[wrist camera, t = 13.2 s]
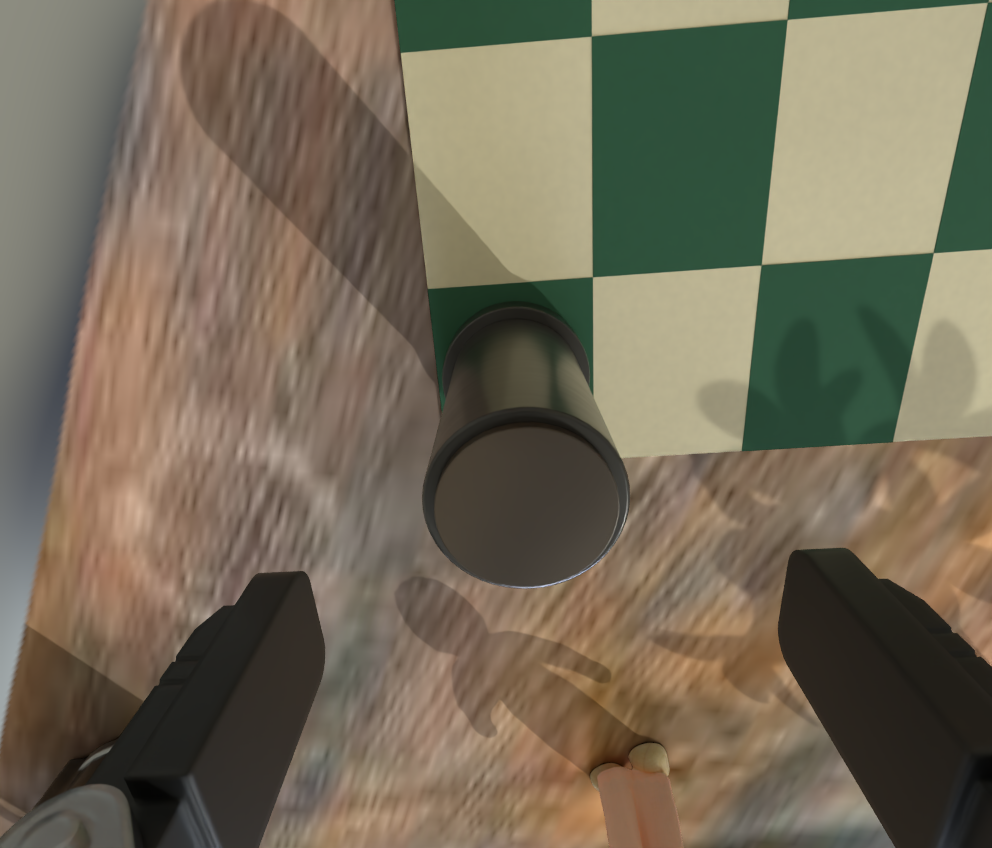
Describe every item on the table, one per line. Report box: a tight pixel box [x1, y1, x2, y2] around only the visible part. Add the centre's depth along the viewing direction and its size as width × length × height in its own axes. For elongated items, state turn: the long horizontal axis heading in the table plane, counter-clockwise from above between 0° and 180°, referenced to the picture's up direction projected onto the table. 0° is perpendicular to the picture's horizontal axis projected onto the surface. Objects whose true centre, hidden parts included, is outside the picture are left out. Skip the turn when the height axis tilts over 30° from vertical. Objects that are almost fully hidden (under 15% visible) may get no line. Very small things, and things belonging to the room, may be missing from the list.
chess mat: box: [394, 0, 992, 458], centre depth 19 cm, size 24×22×1 cm
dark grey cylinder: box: [422, 301, 630, 588], centre depth 17 cm, size 5×5×10 cm
